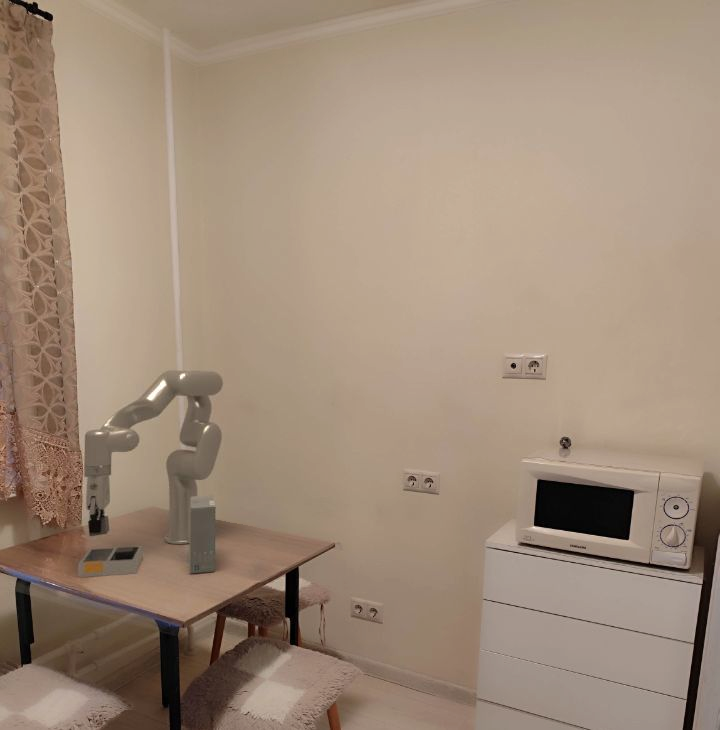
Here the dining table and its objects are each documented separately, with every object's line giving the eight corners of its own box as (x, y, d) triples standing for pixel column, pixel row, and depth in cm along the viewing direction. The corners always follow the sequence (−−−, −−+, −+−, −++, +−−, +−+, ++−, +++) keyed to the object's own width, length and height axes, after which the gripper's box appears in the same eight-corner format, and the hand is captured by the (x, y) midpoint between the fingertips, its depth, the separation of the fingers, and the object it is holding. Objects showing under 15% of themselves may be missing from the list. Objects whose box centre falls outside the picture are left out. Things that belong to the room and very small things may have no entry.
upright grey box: (109, 530, 178) (107, 515, 178) (106, 534, 174) (104, 519, 174) (92, 532, 177) (91, 518, 177) (89, 536, 173) (88, 521, 173)
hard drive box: (215, 572, 174) (215, 506, 173) (189, 575, 172) (189, 508, 171) (213, 554, 189) (213, 494, 188) (189, 556, 187) (189, 495, 186)
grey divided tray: (142, 557, 185) (142, 541, 185) (135, 573, 172) (135, 556, 172) (89, 561, 182) (89, 544, 182) (77, 577, 169) (77, 559, 169)
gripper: (104, 475, 168) (103, 538, 168) (116, 465, 184) (115, 522, 185) (76, 476, 167) (75, 539, 167) (91, 465, 183) (90, 523, 183)
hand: (96, 529), depth 176 cm, fingers closed on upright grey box, 4 cm apart
